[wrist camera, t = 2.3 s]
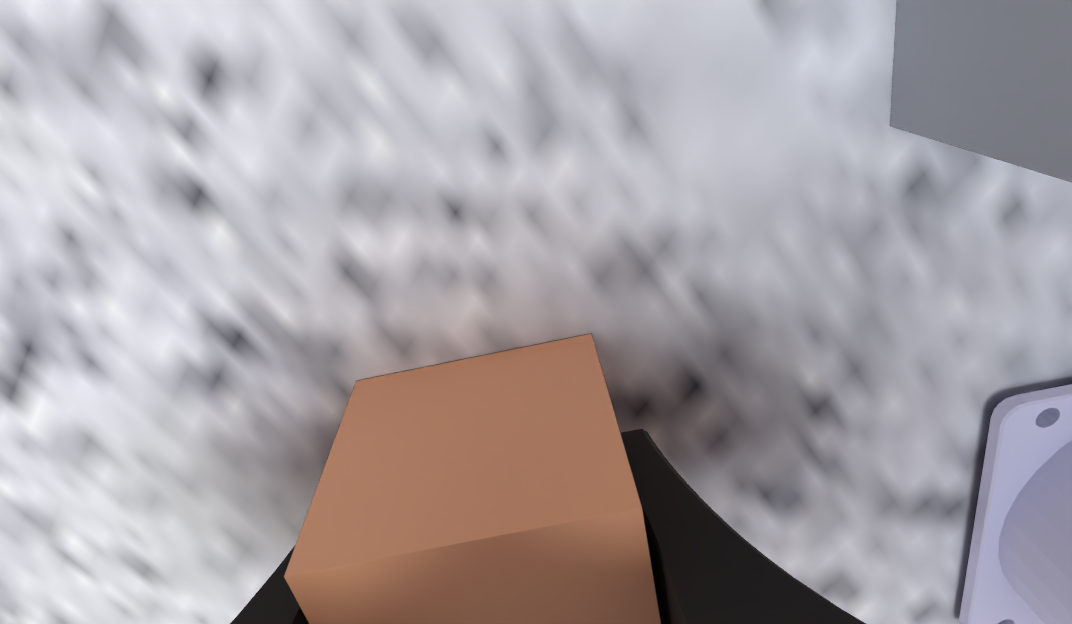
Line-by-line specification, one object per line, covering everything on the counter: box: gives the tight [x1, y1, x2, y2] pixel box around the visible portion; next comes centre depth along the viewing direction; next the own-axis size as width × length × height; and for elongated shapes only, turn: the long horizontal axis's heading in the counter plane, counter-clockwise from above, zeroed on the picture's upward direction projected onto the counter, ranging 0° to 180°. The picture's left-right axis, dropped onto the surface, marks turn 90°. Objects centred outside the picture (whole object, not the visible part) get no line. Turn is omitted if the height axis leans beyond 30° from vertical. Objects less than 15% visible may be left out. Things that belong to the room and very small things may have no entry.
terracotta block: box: [284, 334, 661, 624], centre depth 12 cm, size 5×5×5 cm
